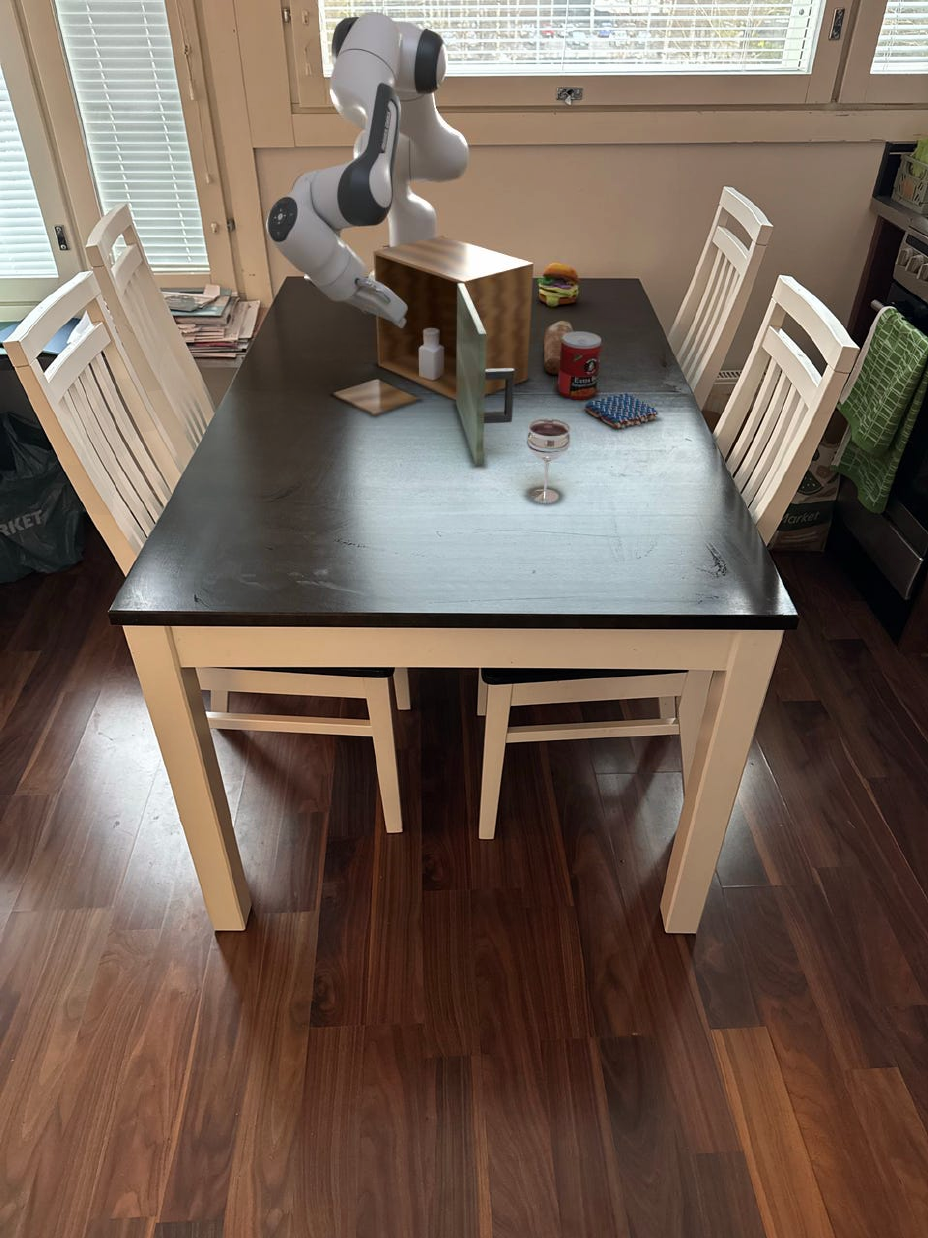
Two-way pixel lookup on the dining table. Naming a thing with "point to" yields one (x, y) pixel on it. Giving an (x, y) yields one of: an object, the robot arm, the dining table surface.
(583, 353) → the canned food
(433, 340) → the pepper shaker
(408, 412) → the dining table surface
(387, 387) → the coaster
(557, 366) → the bread
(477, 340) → the cupboard door
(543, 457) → the wineglass
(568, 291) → the cheeseburger
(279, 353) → the dining table surface
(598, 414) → the woven mat
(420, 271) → the cupboard
